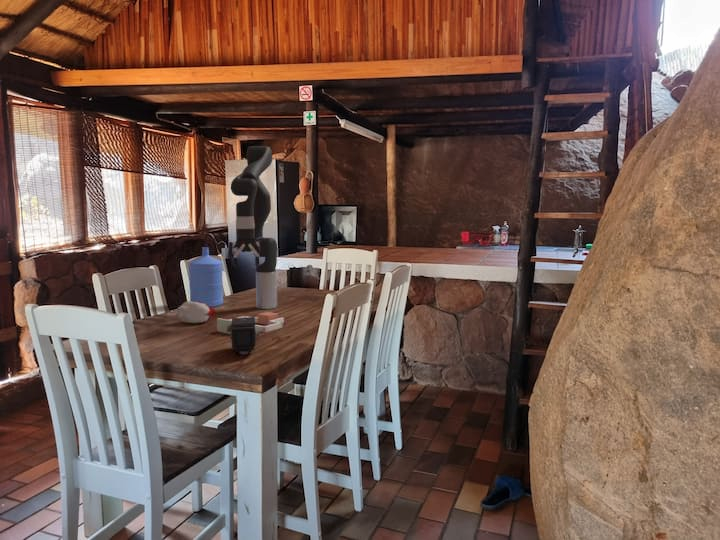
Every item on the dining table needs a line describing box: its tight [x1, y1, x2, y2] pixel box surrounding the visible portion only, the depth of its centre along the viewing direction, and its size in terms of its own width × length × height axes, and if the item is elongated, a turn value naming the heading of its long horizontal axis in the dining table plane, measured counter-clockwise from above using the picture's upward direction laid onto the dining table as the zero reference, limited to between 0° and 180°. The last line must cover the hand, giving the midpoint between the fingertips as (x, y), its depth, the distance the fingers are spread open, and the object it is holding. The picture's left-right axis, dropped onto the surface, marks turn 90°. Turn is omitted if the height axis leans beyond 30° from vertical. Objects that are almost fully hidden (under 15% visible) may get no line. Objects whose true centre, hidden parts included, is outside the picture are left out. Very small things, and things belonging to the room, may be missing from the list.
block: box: [257, 311, 279, 326], centre depth 226 cm, size 6×6×4 cm
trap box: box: [216, 315, 285, 335], centre depth 218 cm, size 27×22×5 cm
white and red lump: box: [175, 300, 216, 324], centre depth 226 cm, size 9×11×15 cm
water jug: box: [188, 246, 224, 308], centre depth 263 cm, size 16×16×28 cm
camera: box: [227, 316, 261, 355], centre depth 181 cm, size 11×11×15 cm
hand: (246, 266), depth 226 cm, fingers open, 8 cm apart
